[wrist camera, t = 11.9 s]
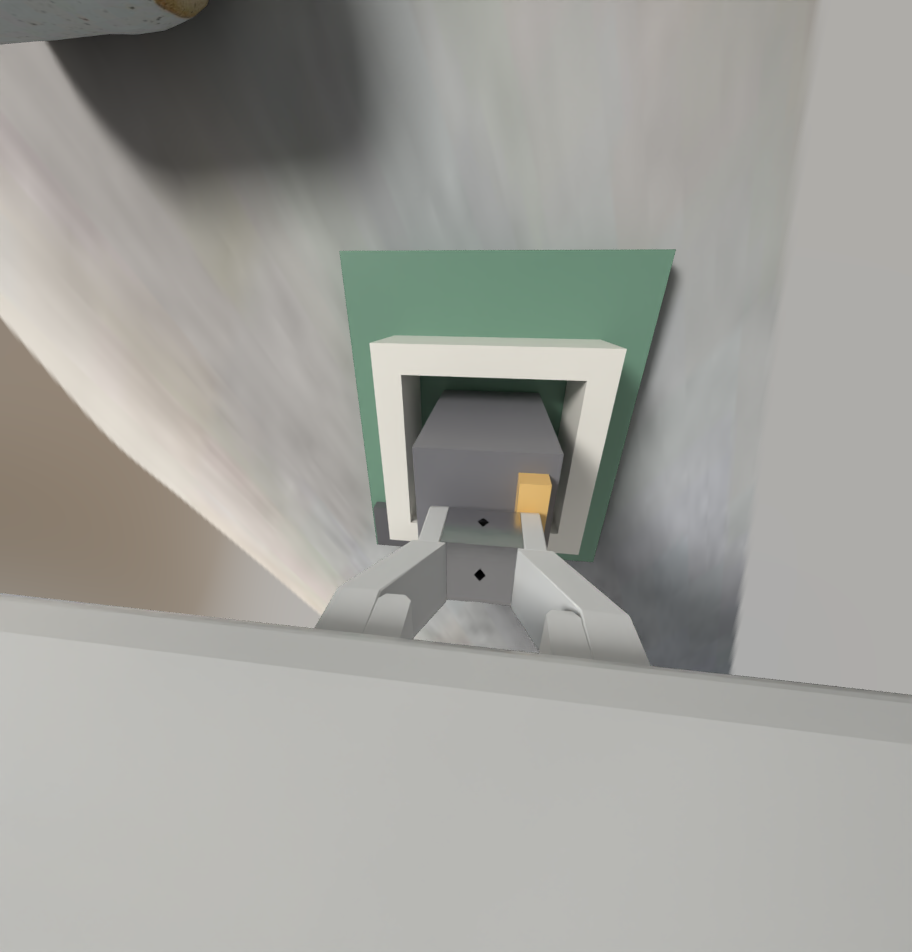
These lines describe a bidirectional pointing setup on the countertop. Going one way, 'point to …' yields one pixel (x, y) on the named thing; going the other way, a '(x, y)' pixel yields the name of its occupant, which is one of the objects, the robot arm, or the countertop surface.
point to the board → (503, 361)
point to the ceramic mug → (90, 17)
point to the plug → (488, 455)
